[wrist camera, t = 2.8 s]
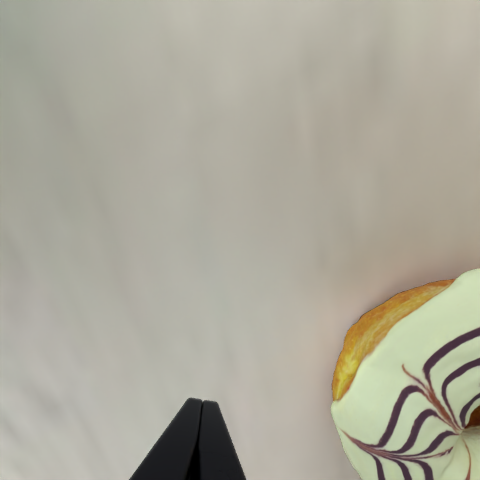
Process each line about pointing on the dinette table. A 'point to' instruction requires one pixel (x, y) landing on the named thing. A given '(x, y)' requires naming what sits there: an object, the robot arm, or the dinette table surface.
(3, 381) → the dinette table surface
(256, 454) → the dinette table surface
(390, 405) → the decorated donut
